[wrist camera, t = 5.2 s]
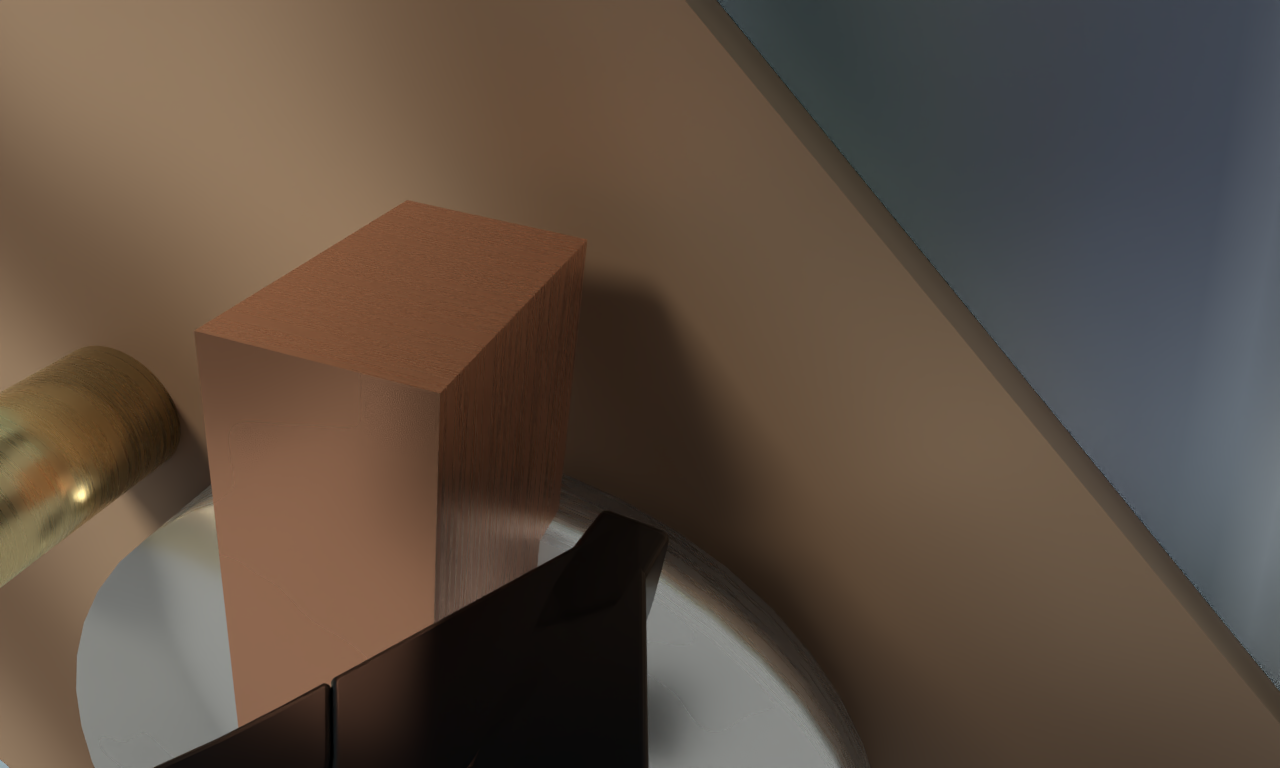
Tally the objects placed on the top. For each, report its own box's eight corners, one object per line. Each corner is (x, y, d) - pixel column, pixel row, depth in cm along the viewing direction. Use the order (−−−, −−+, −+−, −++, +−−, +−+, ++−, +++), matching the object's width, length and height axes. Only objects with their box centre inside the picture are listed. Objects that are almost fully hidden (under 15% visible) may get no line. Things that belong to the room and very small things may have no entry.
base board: (310, -499, 9) (240, -542, 8) (1554, 1029, 12) (1600, 1114, 12) (-236, 477, 17) (-298, 509, 16) (597, 1195, 21) (582, 1250, 20)
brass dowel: (96, 319, 12) (-129, 438, 10) (204, 422, 12) (14, 564, 10) (39, 393, 13) (-181, 520, 10) (140, 488, 13) (-49, 635, 11)
